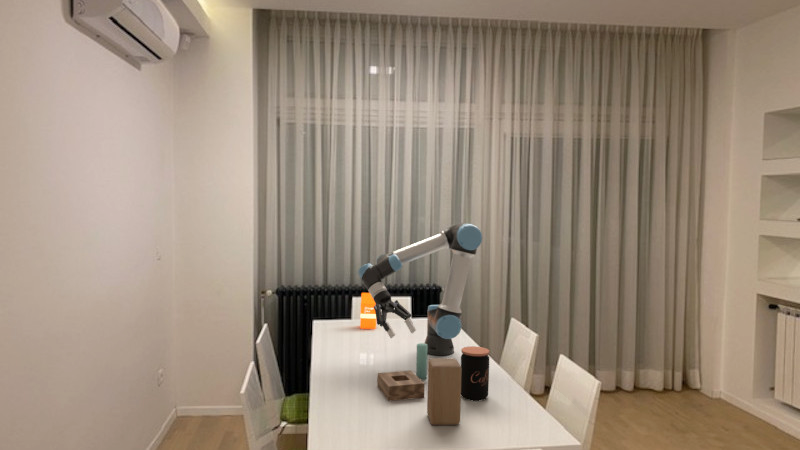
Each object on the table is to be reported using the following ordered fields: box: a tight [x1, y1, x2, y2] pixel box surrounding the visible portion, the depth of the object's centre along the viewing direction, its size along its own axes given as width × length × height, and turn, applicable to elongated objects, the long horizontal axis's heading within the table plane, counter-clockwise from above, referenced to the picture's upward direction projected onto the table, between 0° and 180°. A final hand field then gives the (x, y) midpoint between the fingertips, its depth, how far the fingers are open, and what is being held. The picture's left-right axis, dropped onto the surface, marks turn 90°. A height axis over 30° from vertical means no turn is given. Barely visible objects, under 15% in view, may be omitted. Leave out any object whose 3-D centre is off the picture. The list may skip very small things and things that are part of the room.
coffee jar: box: [460, 346, 490, 402], centre depth 213 cm, size 11×11×18 cm
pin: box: [415, 342, 428, 380], centre depth 234 cm, size 4×4×14 cm
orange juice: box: [359, 292, 377, 330], centre depth 323 cm, size 8×9×20 cm
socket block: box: [376, 370, 425, 402], centre depth 216 cm, size 14×16×6 cm
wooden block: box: [426, 358, 462, 426], centre depth 189 cm, size 10×10×20 cm
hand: (403, 334), depth 241 cm, fingers open, 13 cm apart
